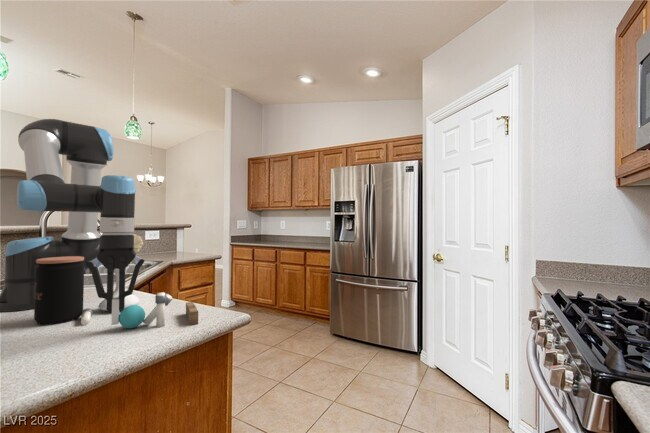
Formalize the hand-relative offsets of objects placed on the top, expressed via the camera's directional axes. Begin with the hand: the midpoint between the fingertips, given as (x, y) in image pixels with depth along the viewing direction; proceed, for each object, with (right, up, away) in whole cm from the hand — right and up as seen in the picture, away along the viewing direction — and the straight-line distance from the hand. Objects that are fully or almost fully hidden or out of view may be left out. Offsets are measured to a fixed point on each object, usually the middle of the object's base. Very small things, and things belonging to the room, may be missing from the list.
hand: (115, 322), depth 78 cm
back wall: (+16, -2, +9) cm, 19 cm away
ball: (+3, +1, +2) cm, 4 cm away
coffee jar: (-23, -2, +9) cm, 24 cm away
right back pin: (+10, -2, +3) cm, 11 cm away
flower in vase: (-12, -3, +20) cm, 23 cm away
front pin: (+6, -1, +3) cm, 7 cm away
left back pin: (-11, -1, +4) cm, 12 cm away
